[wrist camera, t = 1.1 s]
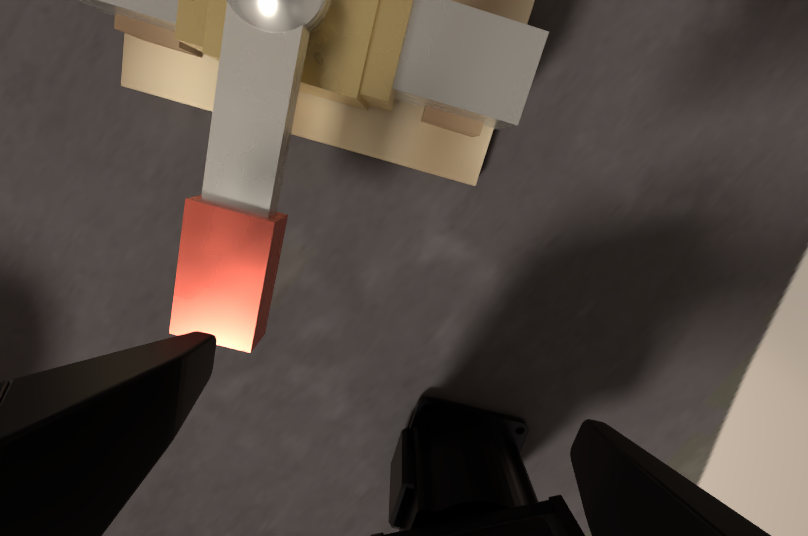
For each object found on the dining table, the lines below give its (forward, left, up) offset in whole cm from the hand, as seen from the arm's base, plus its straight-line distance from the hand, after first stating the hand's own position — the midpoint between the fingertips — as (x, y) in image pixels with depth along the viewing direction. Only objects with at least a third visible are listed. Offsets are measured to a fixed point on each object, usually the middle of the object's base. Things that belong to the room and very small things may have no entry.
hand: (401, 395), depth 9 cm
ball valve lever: (+6, -4, -5) cm, 9 cm away
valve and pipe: (+6, -8, -11) cm, 15 cm away
